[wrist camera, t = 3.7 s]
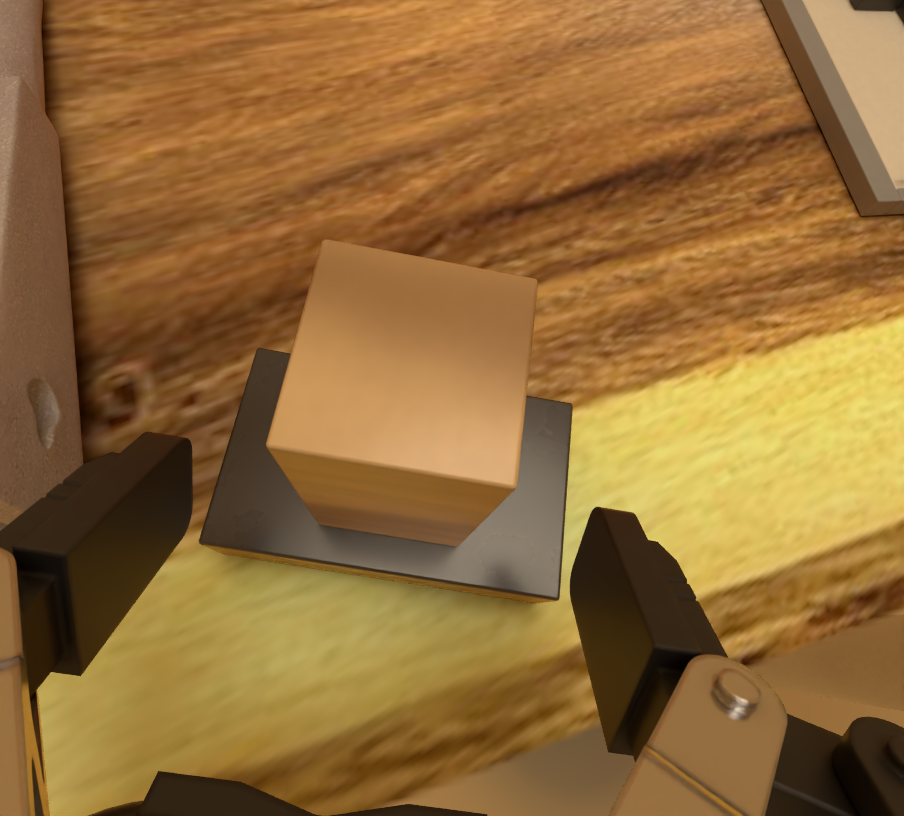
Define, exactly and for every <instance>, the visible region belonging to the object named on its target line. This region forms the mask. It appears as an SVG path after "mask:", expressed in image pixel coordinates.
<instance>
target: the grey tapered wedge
mask: <svg viewBox="0 0 904 816" xmlns="http://www.w3.org/2000/svg"><path fill="white" fill-rule="evenodd" d="M42 11H43V0H0V531H1V530H2V529H3V528H4V527H6V526H7V525H8V524H9V523H11V522H12V521H13V520H14V519H16V518H17V517H18V516H19V515H21V514H22V513H23V512H24V511H26V510H27V509H28V508H29V507H31V506H32V505H33V504H34V503H35V502H37V501H38V500H39V499H40V498H42V497H46V495H47V493H48V492H49V491H50V490H52V489H53V488H54V487H55V486H57V485H58V484H59V483H61V484H62V483H63V480H64V479H65V478H67V477H68V476H69V475H70V474H72V473H73V472H74V471H75V470H76V469H78V468H79V467H80V466H81V465H83V451H82V437H81V424H80V411H79V397H78V384H77V371H76V358H75V344H74V331H73V318H72V305H71V291H70V278H69V265H68V252H67V238H66V225H65V212H64V198H63V185H62V172H61V158H60V146H59V137H58V134H57V132H56V130H55V128H54V127H53V125H52V123H51V122H50V120H49V119H48V117H47V116H46V114H45V93H44V68H43V49H42V28H41V24H42Z"/></svg>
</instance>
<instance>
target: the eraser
mask: <svg viewBox="0 0 904 816" xmlns="http://www.w3.org/2000/svg"><path fill="white" fill-rule="evenodd" d="M537 288H538V282H537V280H536V279H534V278H529V277H523V276H518V275H513V274H507V273H502V272H497V271H492V270H486V269H481V268H476V267H471V266H465V265H460V264H455V263H449V262H444V261H439V260H434V259H428V258H423V257H418V256H413V255H407V254H402V253H397V252H391V251H386V250H381V249H376V248H370V247H365V246H360V245H354V244H349V243H344V242H339V241H333V240H328V239H324V240H323V241H322V243H321V247H320V251H319V254H318V258H317V261H316V265H315V269H314V272H313V276H312V279H311V283H310V287H309V290H308V294H307V297H306V301H305V305H304V308H303V312H302V315H301V319H300V323H299V326H298V330H297V334H296V337H295V341H294V344H293V348H292V352H291V354H290V353H284V352H279V351H273V350H267V349H262V348H258V349H257V351H256V354H255V357H254V360H253V364H252V367H251V370H250V374H249V377H248V380H247V384H246V387H245V390H244V394H243V397H242V400H241V403H240V407H239V410H238V413H237V417H236V420H235V423H234V427H233V430H232V433H231V436H230V440H229V443H228V446H227V450H226V453H225V456H224V460H223V463H222V466H221V469H220V473H219V476H218V479H217V483H216V486H215V489H214V493H213V496H212V499H211V503H210V506H209V509H208V512H207V516H206V519H205V522H204V526H203V529H202V532H201V536H200V539H199V543H200V544H201V545H203V546H206V547H208V548H210V549H213V550H215V551H218V552H220V553H222V554H226V555H232V556H239V557H245V558H251V559H258V560H264V561H270V562H277V563H283V564H289V565H296V566H302V567H308V568H315V569H321V570H327V571H334V572H340V573H346V574H353V575H359V576H365V577H372V578H378V579H384V580H391V581H397V582H403V583H410V584H416V585H422V586H429V587H435V588H441V589H448V590H454V591H460V592H467V593H473V594H479V595H486V596H492V597H499V598H505V599H511V600H518V601H524V602H530V603H542V602H550V601H557V600H559V597H560V583H561V569H562V554H563V540H564V525H565V511H566V496H567V482H568V467H569V453H570V439H571V424H572V410H573V406H572V404H571V403H565V402H560V401H554V400H548V399H543V398H537V397H531V396H526V395H527V385H528V375H529V366H530V356H531V346H532V336H533V327H534V317H535V307H536V297H537Z"/></svg>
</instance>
